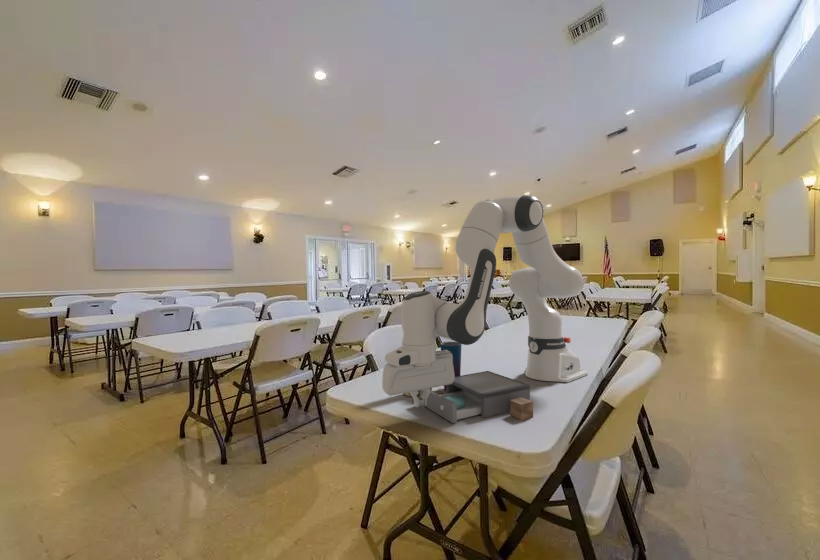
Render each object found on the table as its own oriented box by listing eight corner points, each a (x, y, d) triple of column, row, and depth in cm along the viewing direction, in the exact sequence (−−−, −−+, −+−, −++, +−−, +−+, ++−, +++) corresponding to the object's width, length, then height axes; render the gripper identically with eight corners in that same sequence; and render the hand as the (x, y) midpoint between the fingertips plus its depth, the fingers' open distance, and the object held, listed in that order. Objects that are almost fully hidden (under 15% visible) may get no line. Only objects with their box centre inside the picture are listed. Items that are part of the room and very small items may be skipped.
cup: (461, 393, 117) (460, 345, 117) (440, 392, 118) (439, 345, 118) (463, 386, 124) (462, 341, 123) (442, 386, 125) (441, 341, 125)
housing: (488, 389, 120) (487, 370, 120) (530, 406, 104) (529, 385, 104) (446, 398, 113) (446, 378, 113) (484, 417, 97) (484, 394, 97)
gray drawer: (462, 394, 115) (461, 379, 115) (498, 412, 100) (498, 394, 100) (418, 403, 108) (418, 387, 108) (451, 423, 93) (450, 405, 93)
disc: (438, 404, 105) (438, 398, 105) (456, 400, 107) (456, 394, 107) (450, 411, 99) (450, 404, 99) (469, 406, 102) (469, 400, 102)
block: (521, 412, 100) (521, 397, 100) (533, 417, 97) (532, 401, 97) (510, 415, 98) (510, 399, 98) (521, 420, 95) (521, 404, 95)
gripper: (445, 346, 106) (447, 395, 106) (379, 356, 96) (380, 409, 97) (458, 350, 100) (459, 402, 100) (389, 360, 91) (390, 417, 91)
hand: (420, 405), depth 98 cm, fingers closed
